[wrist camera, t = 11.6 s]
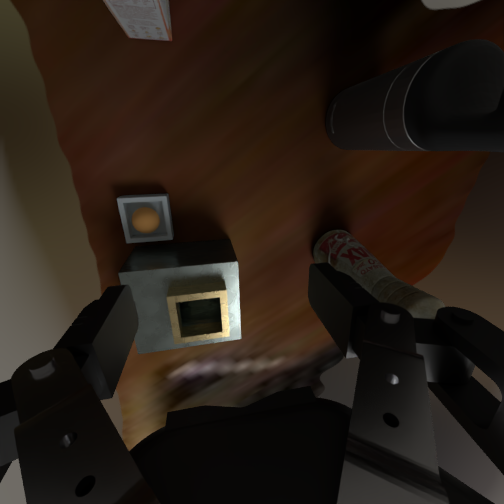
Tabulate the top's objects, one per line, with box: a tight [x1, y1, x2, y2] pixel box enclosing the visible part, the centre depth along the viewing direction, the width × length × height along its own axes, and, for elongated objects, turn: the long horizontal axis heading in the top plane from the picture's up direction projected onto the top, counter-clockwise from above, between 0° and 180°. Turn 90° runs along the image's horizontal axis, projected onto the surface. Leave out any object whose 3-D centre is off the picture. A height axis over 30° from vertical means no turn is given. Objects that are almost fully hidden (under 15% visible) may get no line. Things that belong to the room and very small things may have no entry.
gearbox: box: [118, 239, 241, 354], centre depth 41 cm, size 18×14×12 cm
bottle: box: [313, 230, 445, 319], centre depth 38 cm, size 9×9×28 cm
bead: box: [132, 207, 160, 233], centre depth 39 cm, size 4×4×4 cm
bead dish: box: [117, 193, 174, 243], centre depth 40 cm, size 7×7×2 cm
